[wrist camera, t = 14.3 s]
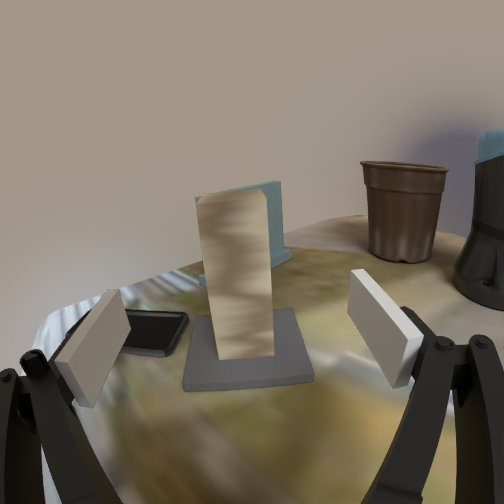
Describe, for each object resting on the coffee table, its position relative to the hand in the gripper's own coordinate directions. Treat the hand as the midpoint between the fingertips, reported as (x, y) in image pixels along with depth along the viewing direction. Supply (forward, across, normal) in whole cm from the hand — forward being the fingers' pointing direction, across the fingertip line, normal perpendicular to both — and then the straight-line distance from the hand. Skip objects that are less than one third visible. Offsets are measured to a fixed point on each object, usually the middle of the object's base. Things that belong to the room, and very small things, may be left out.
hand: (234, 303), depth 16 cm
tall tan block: (+9, 0, -10) cm, 13 cm away
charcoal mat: (+9, 0, -11) cm, 14 cm away
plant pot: (+30, +29, -11) cm, 43 cm away
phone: (+13, -14, -11) cm, 23 cm away
